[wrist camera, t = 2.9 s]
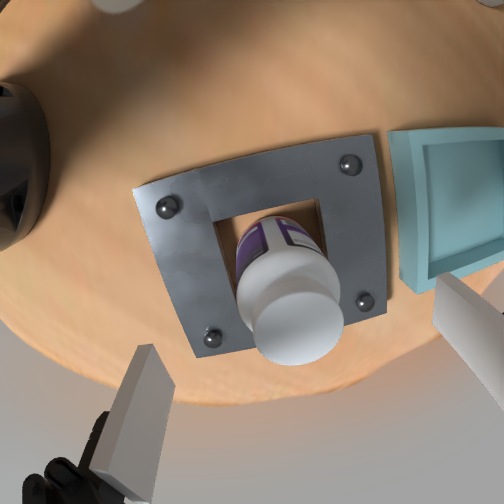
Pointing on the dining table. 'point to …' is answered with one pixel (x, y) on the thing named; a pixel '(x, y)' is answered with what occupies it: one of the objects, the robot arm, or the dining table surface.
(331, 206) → the plate
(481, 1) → the mug
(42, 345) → the dining table surface
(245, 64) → the dining table surface
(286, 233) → the pill bottle
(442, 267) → the tray
